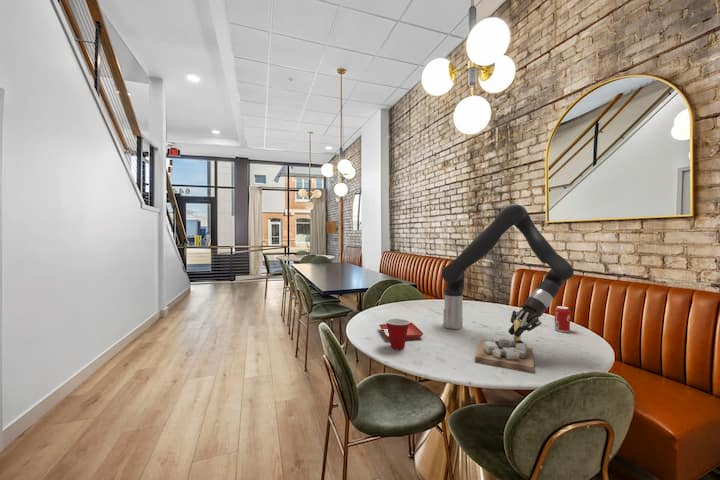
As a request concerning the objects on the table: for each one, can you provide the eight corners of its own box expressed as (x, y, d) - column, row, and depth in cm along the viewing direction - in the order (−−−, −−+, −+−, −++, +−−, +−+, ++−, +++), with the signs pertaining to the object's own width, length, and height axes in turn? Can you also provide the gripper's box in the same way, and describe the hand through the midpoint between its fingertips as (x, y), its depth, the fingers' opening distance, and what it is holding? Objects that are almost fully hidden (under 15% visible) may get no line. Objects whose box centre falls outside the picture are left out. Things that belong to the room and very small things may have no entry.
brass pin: (513, 350, 120) (514, 320, 120) (513, 348, 122) (513, 319, 122) (520, 351, 119) (520, 321, 119) (520, 349, 121) (520, 320, 121)
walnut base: (474, 361, 117) (474, 345, 116) (481, 344, 134) (481, 329, 134) (533, 372, 107) (534, 354, 107) (532, 352, 125) (532, 337, 125)
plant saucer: (386, 343, 138) (386, 336, 138) (378, 330, 156) (378, 324, 156) (424, 340, 141) (424, 333, 141) (411, 328, 159) (411, 322, 158)
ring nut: (492, 359, 113) (492, 348, 113) (479, 344, 128) (479, 335, 128) (533, 359, 113) (533, 349, 112) (515, 344, 128) (515, 335, 127)
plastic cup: (412, 344, 135) (411, 318, 135) (407, 353, 125) (407, 325, 125) (388, 341, 139) (388, 316, 138) (382, 350, 129) (382, 322, 128)
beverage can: (572, 333, 147) (572, 309, 147) (558, 332, 149) (558, 308, 148) (566, 329, 154) (566, 306, 153) (552, 328, 155) (552, 305, 154)
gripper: (519, 293, 129) (495, 323, 126) (546, 299, 115) (520, 334, 113) (530, 304, 130) (506, 335, 127) (558, 312, 117) (532, 346, 114)
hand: (513, 334), depth 120 cm, fingers closed on brass pin, 2 cm apart
